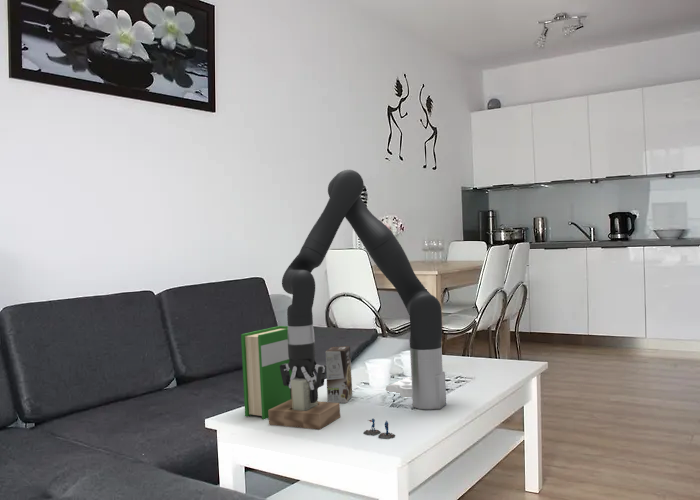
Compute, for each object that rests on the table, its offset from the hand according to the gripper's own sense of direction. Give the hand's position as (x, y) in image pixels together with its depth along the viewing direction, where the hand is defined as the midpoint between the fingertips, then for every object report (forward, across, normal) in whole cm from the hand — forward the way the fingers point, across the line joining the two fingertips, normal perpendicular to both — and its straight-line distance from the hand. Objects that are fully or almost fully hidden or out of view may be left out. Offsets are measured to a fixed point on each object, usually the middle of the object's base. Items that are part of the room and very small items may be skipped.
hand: (304, 401), depth 174 cm
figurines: (+6, -25, +5) cm, 26 cm away
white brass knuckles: (+6, -18, -40) cm, 44 cm away
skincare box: (+6, 0, 0) cm, 6 cm away
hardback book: (+6, +15, -7) cm, 17 cm away
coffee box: (+6, +1, -24) cm, 25 cm away
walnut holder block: (+5, 0, 0) cm, 5 cm away
